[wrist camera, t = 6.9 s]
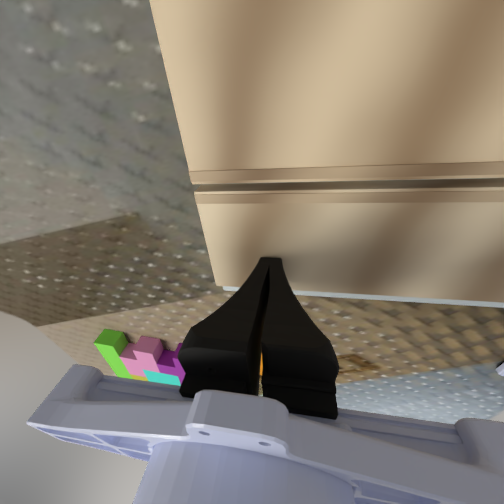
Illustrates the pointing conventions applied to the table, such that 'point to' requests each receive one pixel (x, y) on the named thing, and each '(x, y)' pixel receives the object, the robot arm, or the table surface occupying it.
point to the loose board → (362, 235)
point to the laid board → (336, 88)
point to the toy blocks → (142, 358)
